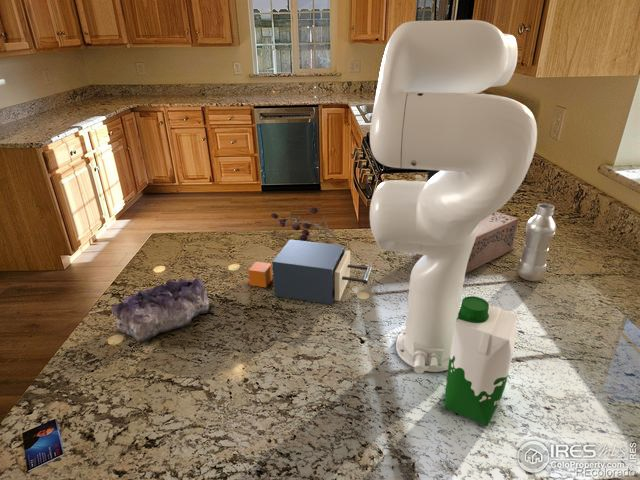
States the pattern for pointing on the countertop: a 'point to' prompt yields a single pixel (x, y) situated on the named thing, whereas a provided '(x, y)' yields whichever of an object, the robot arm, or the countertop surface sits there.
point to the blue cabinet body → (306, 271)
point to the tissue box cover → (491, 239)
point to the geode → (161, 308)
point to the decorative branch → (305, 225)
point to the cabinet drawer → (346, 274)
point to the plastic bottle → (537, 243)
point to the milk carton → (479, 359)
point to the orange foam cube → (260, 274)
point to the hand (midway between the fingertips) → (441, 187)
